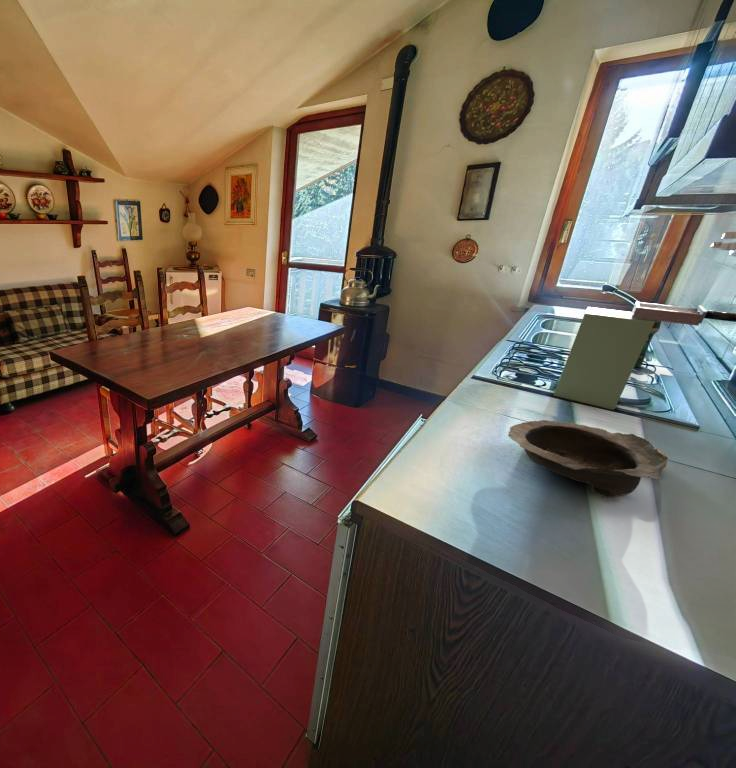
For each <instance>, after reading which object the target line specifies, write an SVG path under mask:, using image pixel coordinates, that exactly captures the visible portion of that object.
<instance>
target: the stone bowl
mask: <svg viewBox="0 0 736 768" xmlns="http://www.w3.org/2000/svg"><path fill="white" fill-rule="evenodd" d="M507 436H508V437H509V438H510V440H512V441H514V442H515V443H516V444H518V445H519V447H520V448H522V449H524V452H525V454H526V456H527V458H528V459H529V460H530V461H532V462H533V463H535V464H537V465H538V466H540V467H543V468H544V469H546V470H547V471H548V470H549V471H551V472H552V473H554V474H558V475H560V476H563V477H565V478H569V479H571V480H574V481H577V482H581V483H587V484H588V485H590V486H591V487H592V488H593V490H594V493H596V494H598V495H600V496H601V497H604V498H615V497H620V496H624V495H628V494H631V493H633V492H634V490H636V489H637V487H638V486H639V485H640V482H641V480H642V478H643V477H648V478H652V479H661V477H662V471H663V470H662V465H663V464H664V462H665V461H666V460H667V461H668V459H669V457H668V456H666V457H663V455H662V454H660V453H659V452H658V450H659V449H657V448H655V446H654V445H653V443H652V442H650V441H649V440H647V439H646V438H644V437H641V436H638V435H636V434H633V433H621V432H610V431H608V430H606V429H603V428H600V427H593V426H588V425H585V424H578V423H574V422H565V421H558V420H548V419H540V420H529V421H526V422H525V421H524V422H521V423H517V424H514V425H512V426H510V428H509V431H508V434H507ZM661 470H662V471H661Z"/></svg>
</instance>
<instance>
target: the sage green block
mask: <svg viewBox="0 0 736 768" xmlns="http://www.w3.org/2000/svg"><path fill="white" fill-rule="evenodd" d="M654 323H655V321H654V320H649V319H641V318H633V317H632V311H627V310H618V309H617V310H616V309H609V308H600V307H593V306H592V307H591V306H587V308H586V310H585V312H584V314H583V317H582V319H581V323H580V325H579V328H578V330H577V332H576V335H575V337H574V341H573V342H572V346H571V348H570V351H569V354H568V356H567V359H566V361H565V363H564V366H563V369H562V372H561V374H560V376H559V379H558V382H557V383H556V384H557V385H556V388H555V389H554V392H553V395H552V396H553V397H557V398H562V399H565V400H570V401H574V402H578V403H583V404H586V405H591V406H595V407H599V408H603V409H607V410H612V411H615V409H616V407H617V405H618V403H619V401H620V398H621V396H622V394H623V392H624V390H625V388H626V385H627V384H628V381H629V379H630V377H631V374H632V372H633V370H634V368H635V367H634V366H635V364H636V362H637V360H638V357H639V355H640V353H641V351H642V349H643V347H644V344H645V342H646V340H647V338H648V336H649V334H650V331H651V329H652V327H653V325H654Z"/></svg>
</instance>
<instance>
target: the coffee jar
mask: <svg viewBox="0 0 736 768" xmlns="http://www.w3.org/2000/svg"><path fill="white" fill-rule="evenodd" d="M654 321H655V323H654V325H653V327H652V329H651V331H650V334H649V336H648V338H647V340H646V342H645V344H644V347H643V349H642V351H641V353H640V355H639V357H638V360H637V362H636V364H635V366H634V368H638V367H641V366H642V365H643V364H644V362H645V358H646V355H647V352H648V350H649V347H650V344H651V342H652V340H653V337H654V335H656V333H658V332H659V330H660V328H661V324H662V321H657V320H654Z"/></svg>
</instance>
